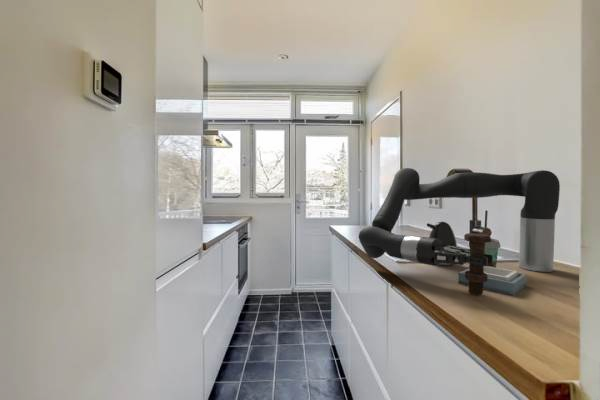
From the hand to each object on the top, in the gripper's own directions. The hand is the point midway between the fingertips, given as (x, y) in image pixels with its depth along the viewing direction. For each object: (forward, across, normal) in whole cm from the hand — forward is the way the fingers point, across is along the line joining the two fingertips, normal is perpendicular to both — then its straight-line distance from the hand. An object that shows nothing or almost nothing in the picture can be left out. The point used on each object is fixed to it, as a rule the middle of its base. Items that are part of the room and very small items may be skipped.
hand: (489, 260), depth 73 cm
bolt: (-3, 0, -9) cm, 10 cm away
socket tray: (-3, -13, -9) cm, 16 cm away
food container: (-9, -31, -9) cm, 34 cm away
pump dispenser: (-23, -27, -9) cm, 37 cm away
